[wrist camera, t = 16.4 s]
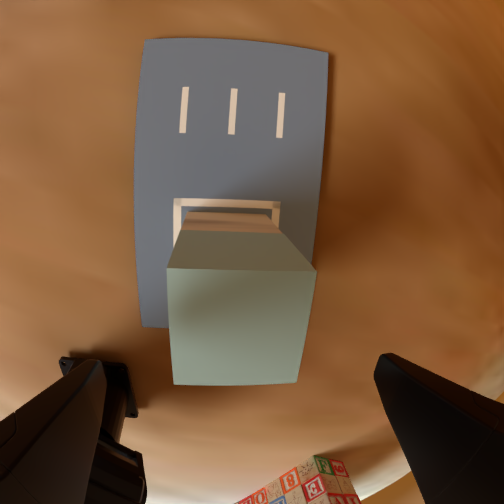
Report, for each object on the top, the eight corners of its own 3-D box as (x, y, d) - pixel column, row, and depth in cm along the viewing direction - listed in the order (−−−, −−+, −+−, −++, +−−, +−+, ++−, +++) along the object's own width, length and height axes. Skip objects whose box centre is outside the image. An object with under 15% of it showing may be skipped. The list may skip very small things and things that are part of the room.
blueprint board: (299, 321, 24) (301, 327, 23) (144, 321, 22) (142, 327, 21) (324, 55, 18) (328, 52, 17) (147, 43, 16) (144, 39, 15)
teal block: (273, 322, 17) (296, 382, 12) (181, 321, 16) (173, 384, 11) (283, 233, 15) (316, 271, 10) (180, 229, 14) (166, 267, 10)
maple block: (259, 285, 21) (273, 323, 17) (187, 284, 21) (181, 322, 16) (265, 214, 20) (283, 234, 15) (187, 211, 19) (179, 231, 14)
